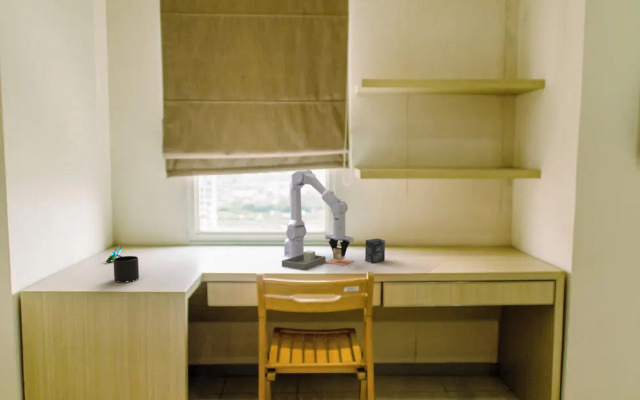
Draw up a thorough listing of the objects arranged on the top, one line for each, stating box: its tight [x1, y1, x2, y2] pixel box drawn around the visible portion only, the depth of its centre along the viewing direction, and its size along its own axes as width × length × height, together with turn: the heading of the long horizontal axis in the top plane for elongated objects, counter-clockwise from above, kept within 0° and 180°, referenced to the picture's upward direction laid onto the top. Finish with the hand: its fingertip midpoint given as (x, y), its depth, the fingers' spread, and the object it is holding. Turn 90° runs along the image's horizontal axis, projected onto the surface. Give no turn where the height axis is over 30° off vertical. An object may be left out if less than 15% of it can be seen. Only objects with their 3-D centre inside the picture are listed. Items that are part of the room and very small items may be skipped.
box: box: [364, 238, 386, 264], centre depth 220 cm, size 8×6×11 cm
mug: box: [112, 255, 140, 283], centre depth 191 cm, size 9×12×9 cm
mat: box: [324, 258, 354, 267], centre depth 218 cm, size 10×10×1 cm
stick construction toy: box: [105, 245, 123, 263], centre depth 223 cm, size 12×7×8 cm
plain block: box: [304, 250, 316, 263], centre depth 218 cm, size 4×4×5 cm
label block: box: [332, 246, 346, 260], centre depth 217 cm, size 4×4×5 cm
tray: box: [281, 253, 326, 271], centre depth 214 cm, size 13×18×3 cm
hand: (339, 255), depth 217 cm, fingers closed on label block, 4 cm apart
